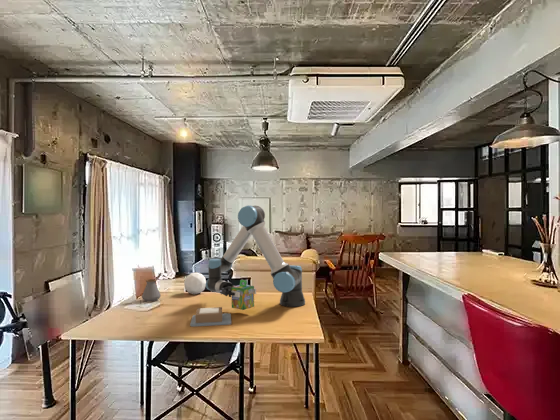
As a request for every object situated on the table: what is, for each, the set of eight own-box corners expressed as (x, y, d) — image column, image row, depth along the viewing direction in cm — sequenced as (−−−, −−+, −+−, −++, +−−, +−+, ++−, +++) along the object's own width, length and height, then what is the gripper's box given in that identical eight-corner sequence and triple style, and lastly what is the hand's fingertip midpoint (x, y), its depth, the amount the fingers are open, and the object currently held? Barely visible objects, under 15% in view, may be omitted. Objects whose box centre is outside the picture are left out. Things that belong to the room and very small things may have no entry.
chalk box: (231, 308, 215) (230, 281, 214) (242, 304, 222) (241, 278, 222) (244, 310, 209) (243, 282, 209) (255, 306, 217) (254, 279, 216)
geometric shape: (200, 300, 271) (213, 281, 274) (192, 296, 257) (205, 277, 260) (185, 288, 276) (198, 270, 279) (176, 284, 262) (190, 266, 265)
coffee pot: (156, 302, 243) (155, 278, 243) (138, 302, 245) (137, 278, 244) (169, 295, 264) (169, 272, 264) (153, 294, 266) (153, 272, 266)
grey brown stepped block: (230, 315, 213) (230, 305, 213) (231, 324, 197) (231, 313, 197) (192, 317, 210) (192, 307, 210) (190, 326, 194) (190, 315, 194)
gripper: (240, 290, 237) (264, 296, 220) (207, 297, 221) (230, 304, 205) (240, 278, 236) (263, 283, 220) (207, 284, 221) (229, 289, 205)
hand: (247, 293), depth 212 cm, fingers closed on chalk box, 10 cm apart
